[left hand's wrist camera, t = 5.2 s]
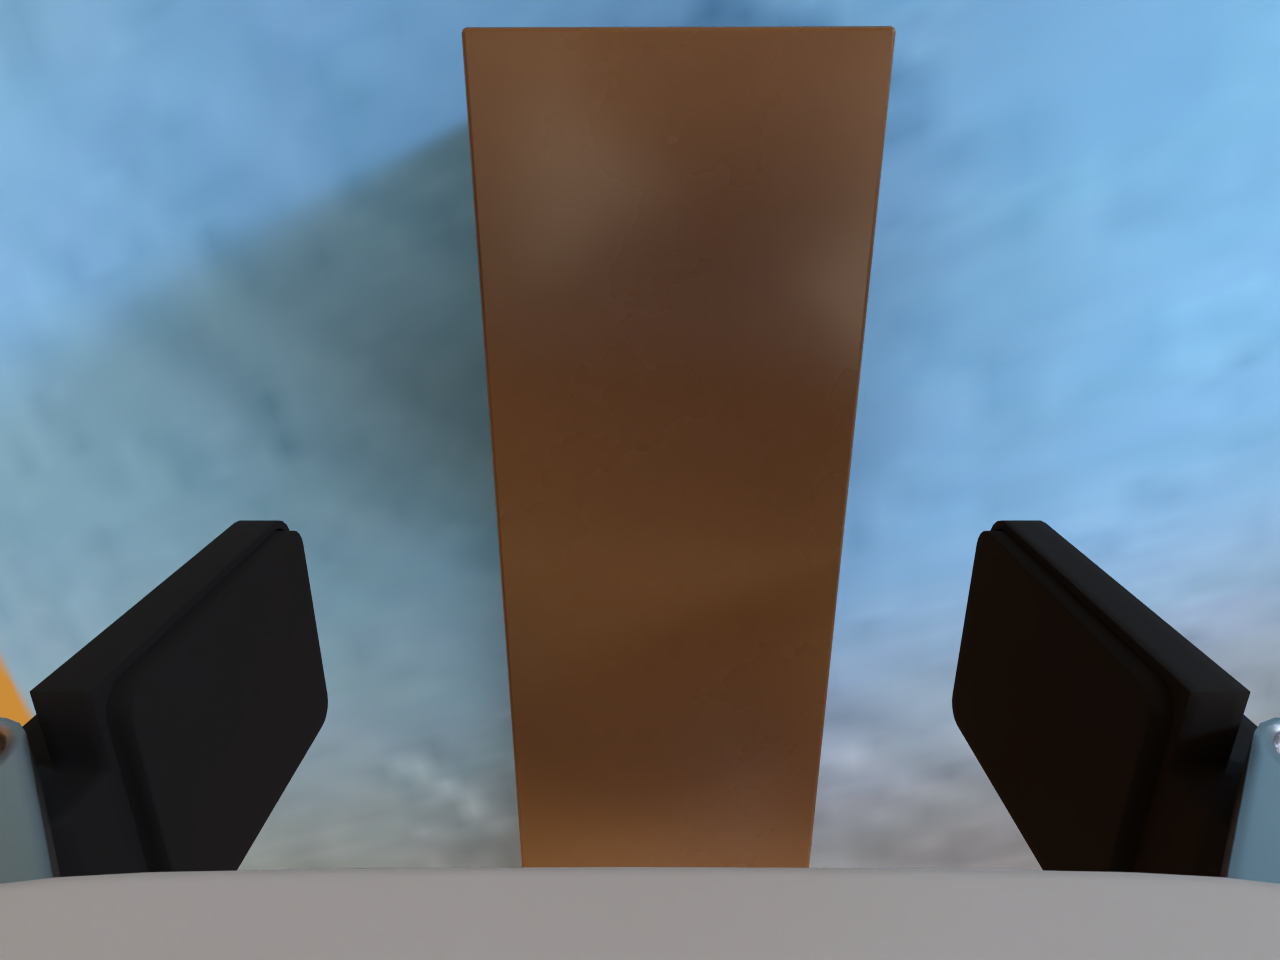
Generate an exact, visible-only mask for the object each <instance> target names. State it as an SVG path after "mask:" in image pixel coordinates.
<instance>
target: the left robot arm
mask: <svg viewBox="0 0 1280 960" xmlns="http://www.w3.org/2000/svg"><path fill="white" fill-rule="evenodd" d="M30 695H31V698H32V701H33V704H34V707H35V711H36V714H37V715H35V716H34V717H33V718H32V719H31V720H30V721H29V722H27V723H26V724H25V725H24V726H23V727H22V726H21V724H20V723H18V722H15V721H12V720H10V719H7V718H0V960H1280V718H1273V719H1270V720H1268V721H1265V722H1262V723H1260V724H1259V726H1258V727H1257V726H1256V725H1255V724H1254V723H1253V722H1251V721H1250V720H1249V719H1248V718H1247V717H1246V716H1245V715H1243V714H1244V711H1245V707H1246V704H1247V701H1248V698H1249V695H1250V691H1249V690H1248V689H1246V688H1245V687H1244V686H1243V685H1242V684H1240V683H1239V682H1238V681H1237V680H1235V679H1234V678H1233V677H1232V676H1231V675H1229V674H1228V673H1227V672H1226V671H1225V670H1223V669H1222V668H1221V667H1220V666H1218V665H1217V664H1216V663H1215V662H1214V661H1212V660H1211V659H1210V658H1209V657H1208V656H1206V655H1205V654H1204V653H1203V652H1201V651H1200V650H1199V649H1198V648H1197V647H1195V646H1194V645H1193V644H1192V643H1191V642H1189V641H1188V640H1187V639H1186V638H1184V637H1183V636H1182V635H1181V634H1180V633H1178V632H1177V631H1176V630H1175V629H1174V628H1172V627H1171V626H1170V625H1169V624H1167V623H1166V622H1165V621H1164V620H1163V619H1161V618H1160V617H1159V616H1158V615H1157V614H1155V613H1154V612H1153V611H1152V610H1150V609H1149V608H1148V607H1147V606H1146V605H1144V604H1143V603H1142V602H1141V601H1140V600H1138V599H1137V598H1136V597H1135V596H1133V595H1132V594H1131V593H1130V592H1129V591H1127V590H1126V589H1125V588H1124V587H1123V586H1121V585H1120V584H1119V583H1118V582H1116V581H1115V580H1114V579H1113V578H1112V577H1110V576H1109V575H1108V574H1107V573H1106V572H1104V571H1103V570H1102V569H1101V568H1099V567H1098V566H1097V565H1096V564H1095V563H1093V562H1092V561H1091V560H1090V559H1089V558H1087V557H1086V556H1085V555H1084V554H1083V553H1081V552H1080V551H1079V550H1078V549H1076V548H1075V547H1074V546H1073V545H1072V544H1070V543H1069V542H1068V541H1067V540H1066V539H1064V538H1063V537H1062V536H1061V535H1059V534H1058V533H1057V532H1056V531H1055V530H1053V529H1052V528H1051V527H1050V526H1049V525H1047V524H1046V523H1044V522H1042V521H997V522H996V523H995V524H994V525H993V527H992V529H991V531H983V532H982V533H981V534H980V536H979V538H978V542H977V546H976V552H975V559H974V565H973V571H972V577H971V584H970V590H969V596H968V602H967V609H966V615H965V621H964V627H963V633H962V640H961V646H960V652H959V658H958V665H957V671H956V677H955V683H954V690H953V697H952V708H953V714H954V718H955V721H956V723H957V726H958V727H959V729H960V731H961V732H962V734H963V736H964V737H965V739H966V741H967V743H968V744H969V746H970V748H971V749H972V751H973V753H974V754H975V756H976V758H977V759H978V761H979V763H980V764H981V766H982V768H983V770H984V771H985V773H986V775H987V776H988V778H989V780H990V781H991V783H992V785H993V786H994V788H995V790H996V792H997V793H998V795H999V797H1000V798H1001V800H1002V802H1003V803H1004V805H1005V807H1006V808H1007V810H1008V812H1009V813H1010V815H1011V817H1012V819H1013V820H1014V822H1015V824H1016V825H1017V827H1018V829H1019V830H1020V832H1021V834H1022V835H1023V837H1024V839H1025V841H1026V842H1027V844H1028V846H1029V847H1030V849H1031V851H1032V852H1033V854H1034V856H1035V857H1036V859H1037V861H1038V863H1039V864H1040V866H1041V868H1042V869H1043V871H1038V870H985V869H931V868H752V867H529V868H349V869H295V870H242V871H237V869H238V868H239V866H240V864H241V863H242V861H243V859H244V857H245V856H246V854H247V852H248V851H249V849H250V847H251V846H252V844H253V842H254V841H255V839H256V837H257V835H258V834H259V832H260V830H261V829H262V827H263V825H264V824H265V822H266V820H267V819H268V817H269V815H270V813H271V812H272V810H273V808H274V807H275V805H276V803H277V802H278V800H279V798H280V797H281V795H282V793H283V792H284V790H285V788H286V786H287V785H288V783H289V781H290V780H291V778H292V776H293V775H294V773H295V771H296V770H297V768H298V766H299V764H300V763H301V761H302V759H303V758H304V756H305V754H306V753H307V751H308V749H309V748H310V746H311V744H312V742H313V741H314V739H315V737H316V736H317V734H318V732H319V731H320V729H321V727H322V726H323V723H324V721H325V718H326V714H327V708H328V697H327V690H326V683H325V677H324V671H323V665H322V658H321V652H320V646H319V640H318V633H317V627H316V621H315V615H314V609H313V602H312V596H311V590H310V584H309V577H308V571H307V565H306V559H305V552H304V546H303V542H302V538H301V536H300V534H299V533H298V532H297V531H289V529H288V527H287V525H286V524H285V523H284V522H283V521H238V522H236V523H234V524H233V525H231V526H230V527H229V528H228V529H227V530H225V531H224V532H223V533H222V534H221V535H219V536H218V537H217V538H216V539H214V540H213V541H212V542H211V543H210V544H208V545H207V546H206V547H205V548H204V549H202V550H201V551H200V552H199V553H197V554H196V555H195V556H194V557H193V558H191V559H190V560H189V561H188V562H187V563H185V564H184V565H183V566H182V567H180V568H179V569H178V570H177V571H176V572H174V573H173V574H172V575H171V576H170V577H168V578H167V579H166V580H165V581H164V582H162V583H161V584H160V585H159V586H157V587H156V588H155V589H154V590H153V591H151V592H150V593H149V594H148V595H147V596H145V597H144V598H143V599H142V600H140V601H139V602H138V603H137V604H136V605H134V606H133V607H132V608H131V609H130V610H128V611H127V612H126V613H125V614H123V615H122V616H121V617H120V618H119V619H117V620H116V621H115V622H114V623H113V624H111V625H110V626H109V627H108V628H106V629H105V630H104V631H103V632H102V633H100V634H99V635H98V636H97V637H96V638H94V639H93V640H92V641H91V642H89V643H88V644H87V645H86V646H85V647H83V648H82V649H81V650H80V651H79V652H77V653H76V654H75V655H74V656H72V657H71V658H70V659H69V660H68V661H66V662H65V663H64V664H63V665H62V666H60V667H59V668H58V669H57V670H55V671H54V672H53V673H52V674H51V675H49V676H48V677H47V678H46V679H45V680H43V681H42V682H41V683H40V684H38V685H37V686H36V687H35V688H34V689H32V690H31V691H30Z"/></svg>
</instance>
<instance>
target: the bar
mask: <svg viewBox="0 0 1280 960" xmlns="http://www.w3.org/2000/svg"><path fill="white" fill-rule="evenodd" d="M894 42H895V28H893V27H891V26H795V27H466V28H464V29H463V31H462V44H463V57H464V71H465V85H466V99H467V112H468V126H469V140H470V154H471V168H472V181H473V195H474V209H475V223H476V236H477V250H478V264H479V278H480V291H481V305H482V319H483V333H484V347H485V360H486V374H487V388H488V402H489V415H490V429H491V443H492V457H493V471H494V484H495V498H496V512H497V526H498V539H499V553H500V567H501V581H502V594H503V608H504V622H505V636H506V650H507V663H508V677H509V691H510V705H511V718H512V732H513V746H514V760H515V773H516V787H517V801H518V815H519V829H520V842H521V856H522V868H529V867H752V868H809V861H810V851H811V842H812V832H813V823H814V813H815V803H816V794H817V784H818V774H819V765H820V755H821V745H822V736H823V726H824V717H825V707H826V697H827V688H828V678H829V668H830V659H831V649H832V639H833V630H834V620H835V611H836V601H837V591H838V582H839V572H840V562H841V553H842V543H843V533H844V524H845V514H846V505H847V495H848V485H849V476H850V466H851V456H852V447H853V437H854V427H855V418H856V408H857V399H858V389H859V379H860V370H861V360H862V350H863V341H864V331H865V321H866V312H867V302H868V293H869V283H870V273H871V264H872V254H873V244H874V235H875V225H876V215H877V206H878V196H879V187H880V177H881V167H882V158H883V148H884V138H885V129H886V119H887V109H888V100H889V90H890V81H891V71H892V61H893V52H894Z"/></svg>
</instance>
